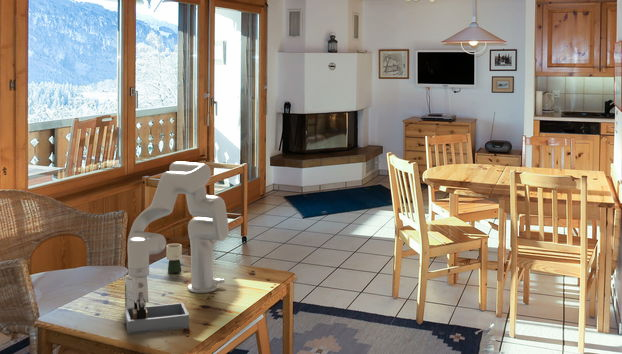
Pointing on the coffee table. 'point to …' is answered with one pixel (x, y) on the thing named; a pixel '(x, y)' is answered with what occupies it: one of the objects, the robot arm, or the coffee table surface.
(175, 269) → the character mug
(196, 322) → the coffee table surface
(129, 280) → the syrup box
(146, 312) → the walnut cube
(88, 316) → the coffee table surface
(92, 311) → the coffee table surface
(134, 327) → the tote
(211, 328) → the coffee table surface
